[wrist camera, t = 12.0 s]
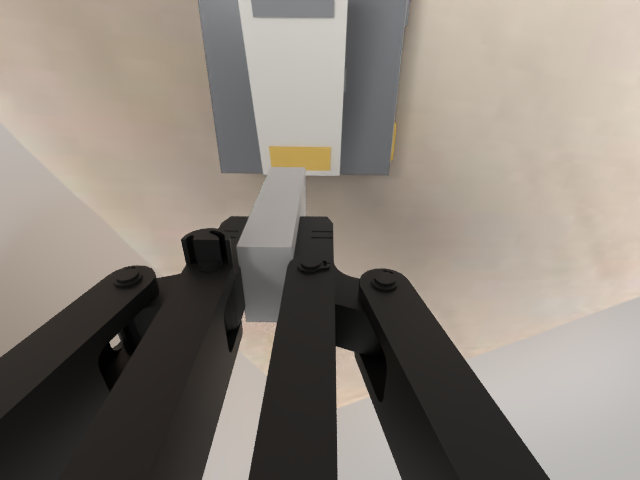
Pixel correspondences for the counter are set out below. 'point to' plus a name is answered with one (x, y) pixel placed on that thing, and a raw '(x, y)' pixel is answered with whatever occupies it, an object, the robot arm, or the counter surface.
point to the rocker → (297, 80)
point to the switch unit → (358, 96)
